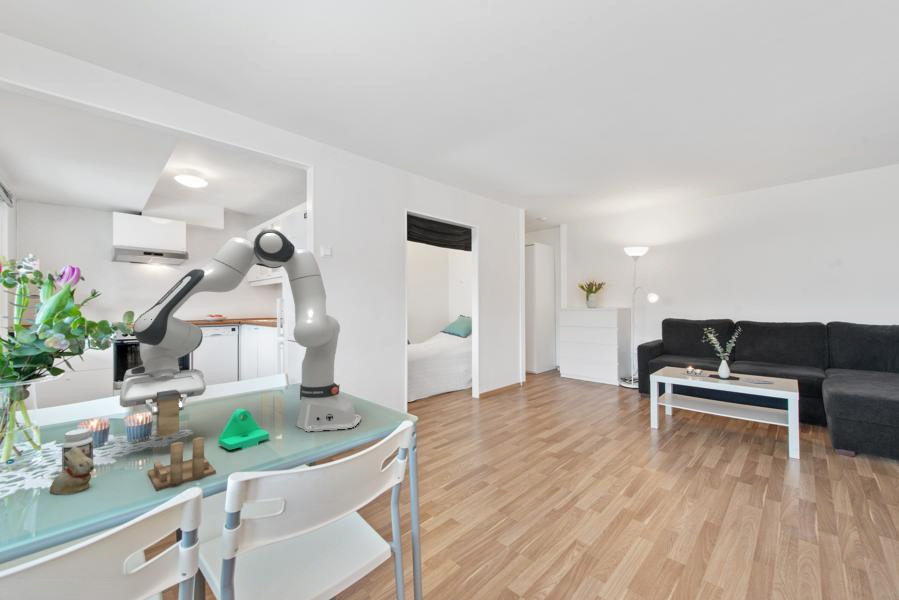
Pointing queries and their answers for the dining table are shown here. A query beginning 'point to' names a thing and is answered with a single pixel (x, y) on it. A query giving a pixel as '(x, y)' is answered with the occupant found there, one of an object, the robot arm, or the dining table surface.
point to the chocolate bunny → (73, 473)
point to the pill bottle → (77, 444)
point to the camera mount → (241, 431)
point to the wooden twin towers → (181, 466)
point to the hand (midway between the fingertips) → (168, 411)
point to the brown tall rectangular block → (167, 413)
